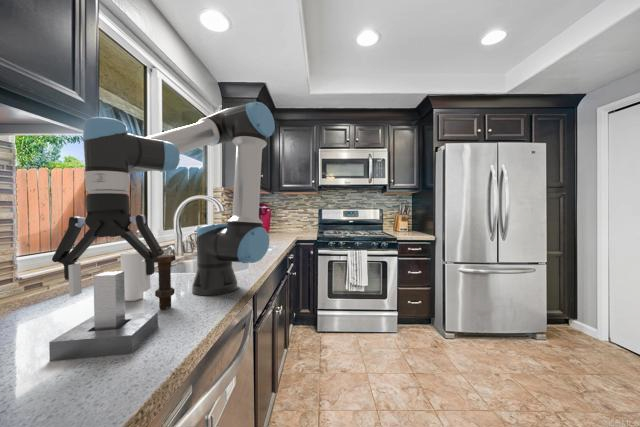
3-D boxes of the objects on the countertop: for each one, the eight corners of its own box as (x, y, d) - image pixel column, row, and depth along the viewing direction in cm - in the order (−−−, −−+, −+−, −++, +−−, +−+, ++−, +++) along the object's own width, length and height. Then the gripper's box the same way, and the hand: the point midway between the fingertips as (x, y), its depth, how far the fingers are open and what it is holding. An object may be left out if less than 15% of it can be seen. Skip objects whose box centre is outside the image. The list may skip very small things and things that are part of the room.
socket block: (92, 331, 69) (92, 316, 69) (158, 326, 71) (157, 311, 71) (49, 360, 55) (49, 342, 55) (132, 353, 58) (132, 335, 58)
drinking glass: (125, 297, 97) (124, 251, 97) (148, 295, 99) (147, 250, 99) (118, 303, 91) (117, 254, 91) (143, 301, 93) (142, 253, 93)
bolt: (150, 309, 85) (149, 256, 85) (166, 304, 89) (165, 254, 89) (163, 311, 82) (162, 257, 82) (179, 306, 86) (178, 255, 86)
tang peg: (105, 336, 65) (103, 272, 65) (125, 334, 65) (124, 271, 65) (94, 344, 61) (93, 275, 61) (116, 342, 62) (115, 274, 61)
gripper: (25, 193, 57) (30, 302, 57) (165, 191, 62) (168, 292, 62) (53, 195, 65) (57, 292, 65) (176, 193, 69) (179, 283, 69)
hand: (111, 292), depth 63 cm, fingers open, 13 cm apart
